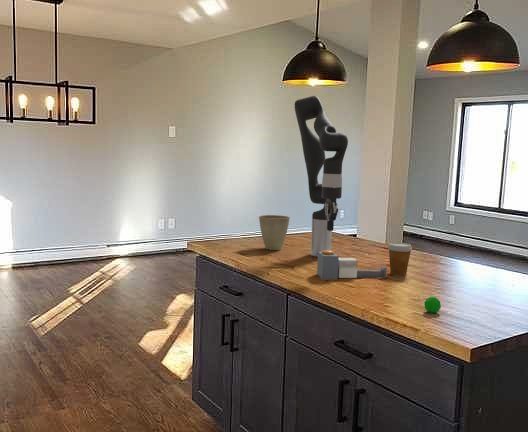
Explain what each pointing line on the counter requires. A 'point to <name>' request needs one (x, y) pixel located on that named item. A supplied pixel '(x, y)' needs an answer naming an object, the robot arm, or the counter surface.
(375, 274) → the rail
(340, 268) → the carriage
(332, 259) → the grey hollow block
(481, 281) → the counter surface
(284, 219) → the plant pot
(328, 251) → the plunger
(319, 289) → the counter surface
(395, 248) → the disposable coffee cup
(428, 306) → the polyhedron
